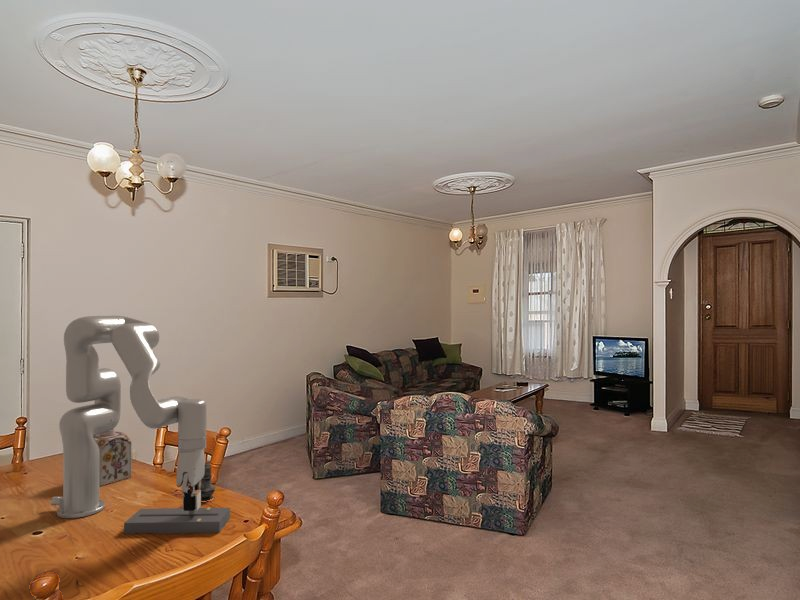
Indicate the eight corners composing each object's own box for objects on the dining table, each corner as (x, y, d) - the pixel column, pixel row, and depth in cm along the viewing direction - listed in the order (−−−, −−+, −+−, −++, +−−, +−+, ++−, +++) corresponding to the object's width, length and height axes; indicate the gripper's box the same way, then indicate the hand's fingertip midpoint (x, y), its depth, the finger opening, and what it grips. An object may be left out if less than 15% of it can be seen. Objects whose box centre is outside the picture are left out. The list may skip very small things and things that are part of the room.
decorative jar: (82, 481, 187) (82, 430, 187) (114, 472, 197) (114, 424, 197) (100, 487, 181) (100, 434, 181) (132, 477, 191) (133, 428, 191)
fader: (182, 516, 148) (182, 493, 148) (186, 511, 151) (186, 489, 151) (197, 515, 148) (197, 493, 148) (200, 511, 151) (200, 489, 151)
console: (124, 533, 144) (124, 522, 144) (140, 519, 154) (140, 508, 154) (219, 532, 145) (219, 520, 145) (230, 517, 155) (230, 506, 155)
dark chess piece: (209, 503, 166) (209, 465, 166) (192, 502, 167) (192, 464, 167) (219, 496, 172) (219, 460, 172) (202, 495, 173) (203, 459, 173)
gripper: (189, 436, 158) (189, 497, 158) (167, 451, 142) (166, 519, 141) (214, 436, 158) (214, 497, 158) (195, 451, 142) (195, 519, 142)
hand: (191, 507), depth 150 cm, fingers closed on fader, 3 cm apart
